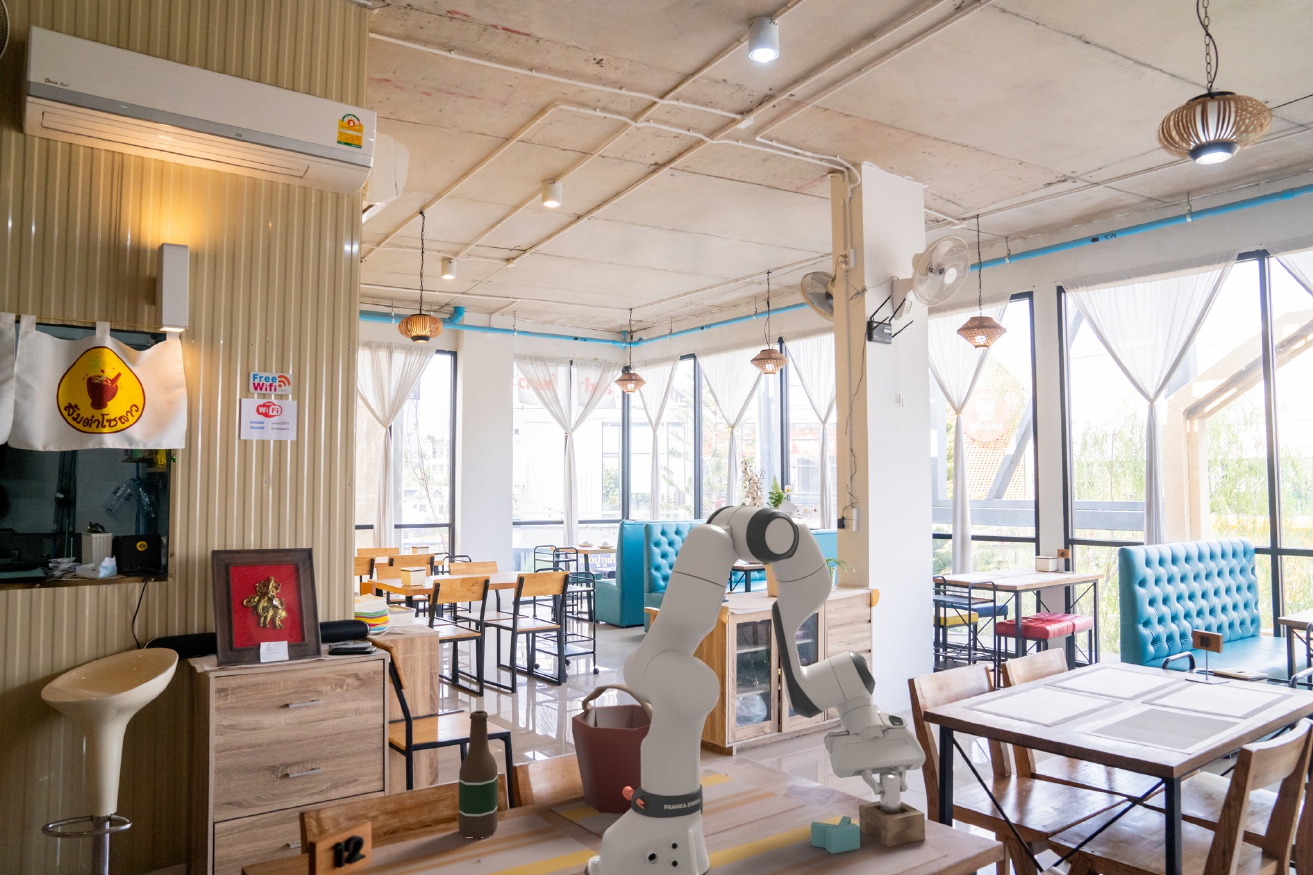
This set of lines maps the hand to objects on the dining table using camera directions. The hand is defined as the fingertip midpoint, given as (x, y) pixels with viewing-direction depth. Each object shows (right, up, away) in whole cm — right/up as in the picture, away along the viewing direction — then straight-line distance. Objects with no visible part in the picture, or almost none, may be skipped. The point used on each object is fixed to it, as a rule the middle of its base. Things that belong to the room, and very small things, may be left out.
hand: (891, 791), depth 167 cm
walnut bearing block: (0, -9, 0) cm, 9 cm away
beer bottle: (-84, -10, +3) cm, 84 cm away
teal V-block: (-12, -8, -5) cm, 15 cm away
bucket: (-54, -11, +21) cm, 59 cm away
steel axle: (0, -8, 0) cm, 8 cm away
